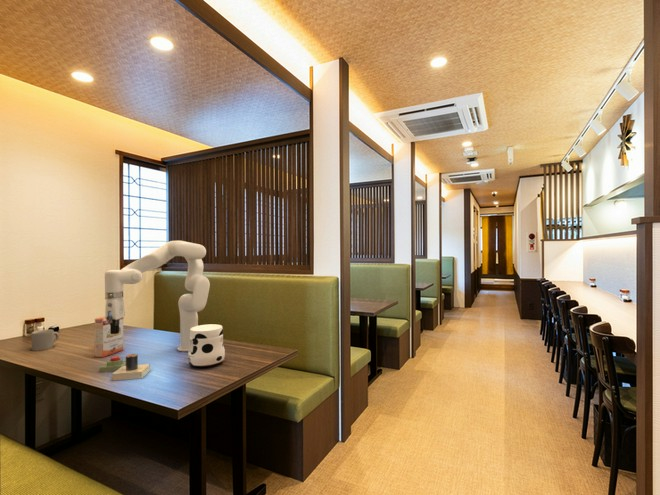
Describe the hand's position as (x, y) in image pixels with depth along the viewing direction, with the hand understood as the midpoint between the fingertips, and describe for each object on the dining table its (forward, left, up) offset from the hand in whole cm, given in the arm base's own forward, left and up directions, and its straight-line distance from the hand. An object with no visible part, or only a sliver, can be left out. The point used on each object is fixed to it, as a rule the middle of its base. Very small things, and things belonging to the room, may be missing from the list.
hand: (114, 333), depth 164 cm
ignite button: (0, 0, -13) cm, 13 cm away
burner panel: (-12, +12, -17) cm, 24 cm away
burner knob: (-12, +12, -14) cm, 22 cm away
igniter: (0, 0, -17) cm, 17 cm away
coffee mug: (+58, -49, -17) cm, 78 cm away
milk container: (-43, +3, -17) cm, 46 cm away
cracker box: (+14, -27, -17) cm, 35 cm away
